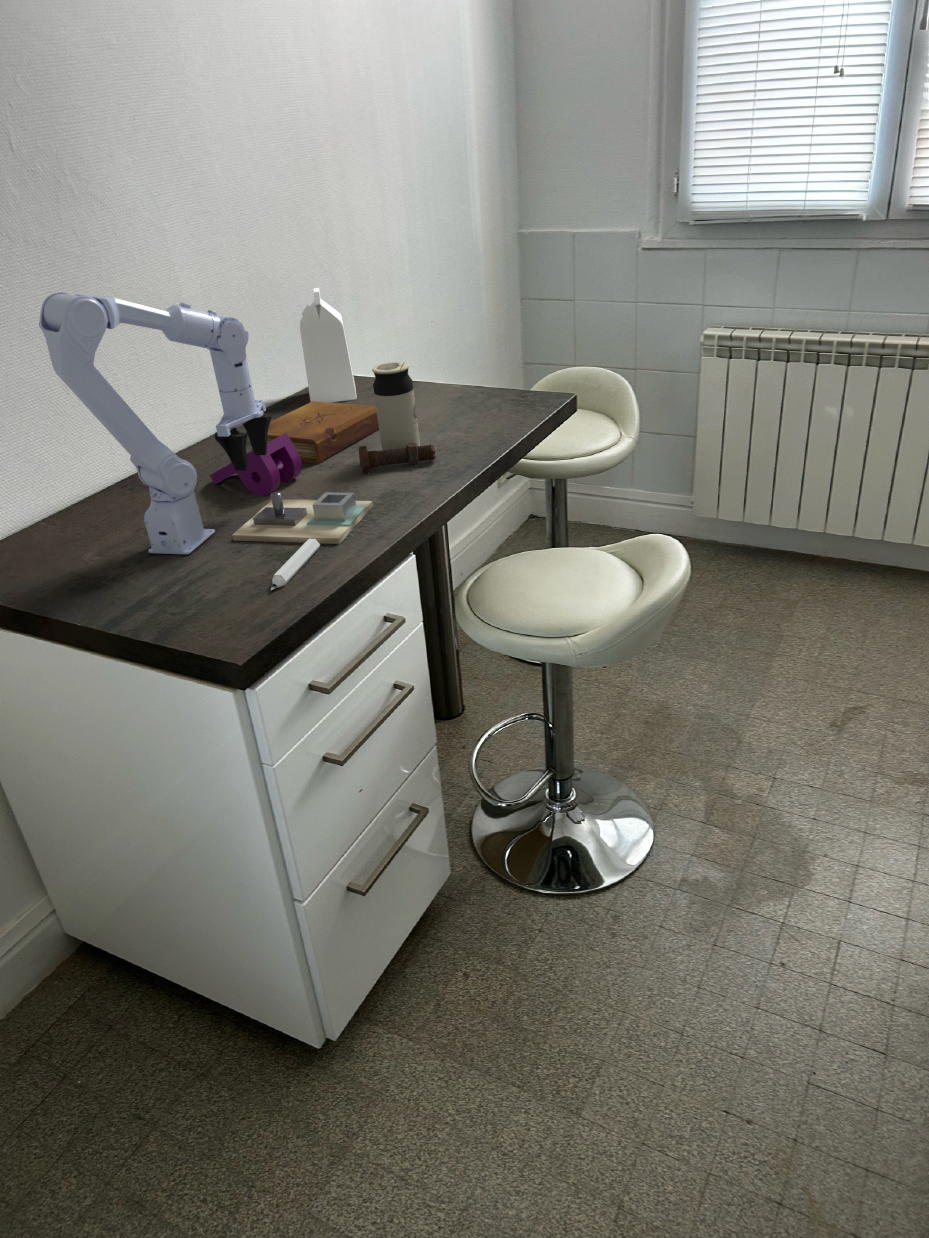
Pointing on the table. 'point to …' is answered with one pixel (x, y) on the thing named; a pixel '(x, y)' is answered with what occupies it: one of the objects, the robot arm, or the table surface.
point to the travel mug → (395, 405)
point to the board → (303, 526)
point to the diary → (324, 428)
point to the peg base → (279, 513)
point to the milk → (326, 353)
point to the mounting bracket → (266, 467)
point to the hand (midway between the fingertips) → (251, 462)
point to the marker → (295, 563)
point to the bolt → (395, 456)
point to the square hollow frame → (334, 506)
